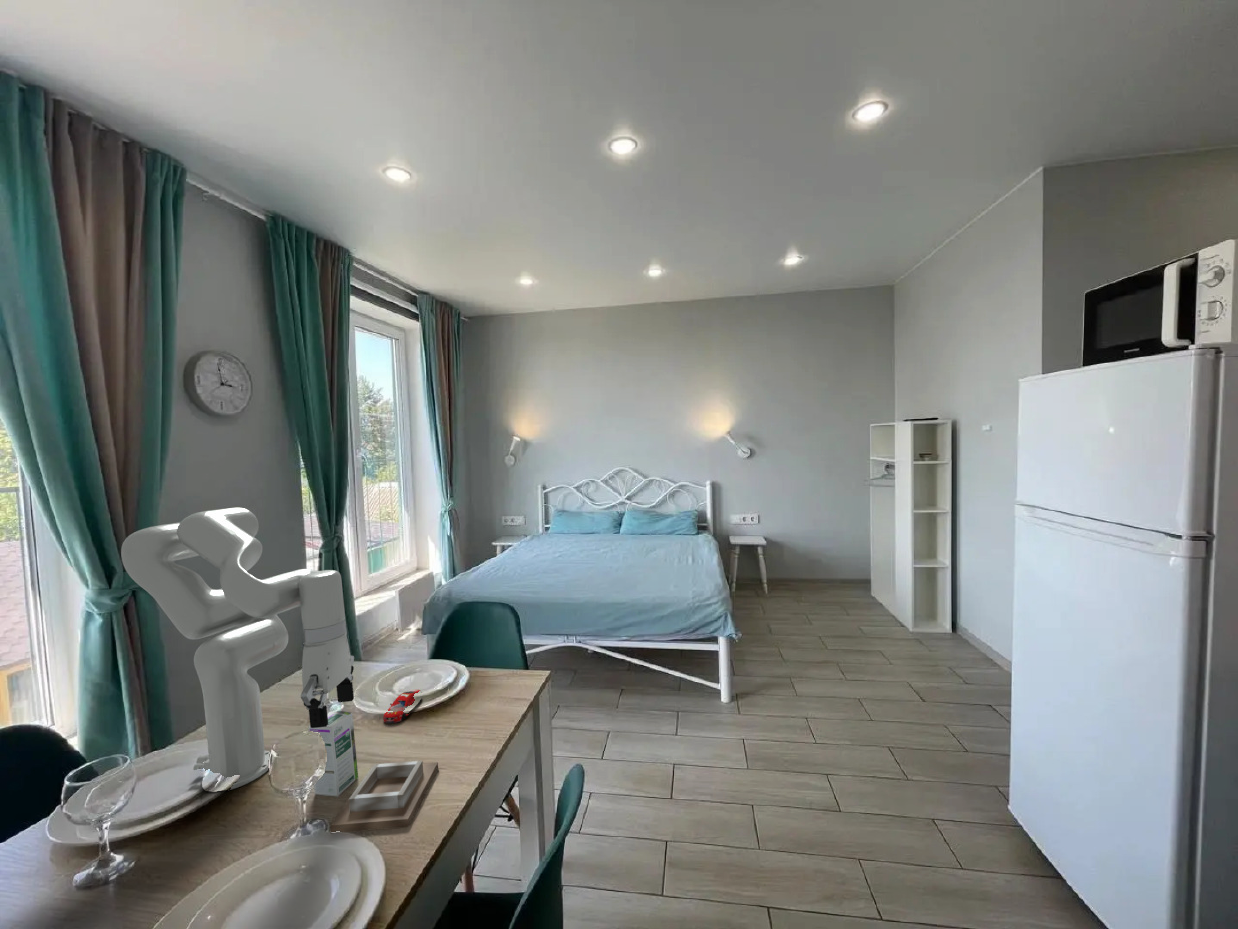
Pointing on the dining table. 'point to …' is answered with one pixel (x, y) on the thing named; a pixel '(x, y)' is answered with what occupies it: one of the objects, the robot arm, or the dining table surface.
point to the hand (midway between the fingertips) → (333, 713)
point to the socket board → (386, 797)
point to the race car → (399, 707)
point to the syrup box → (337, 754)
